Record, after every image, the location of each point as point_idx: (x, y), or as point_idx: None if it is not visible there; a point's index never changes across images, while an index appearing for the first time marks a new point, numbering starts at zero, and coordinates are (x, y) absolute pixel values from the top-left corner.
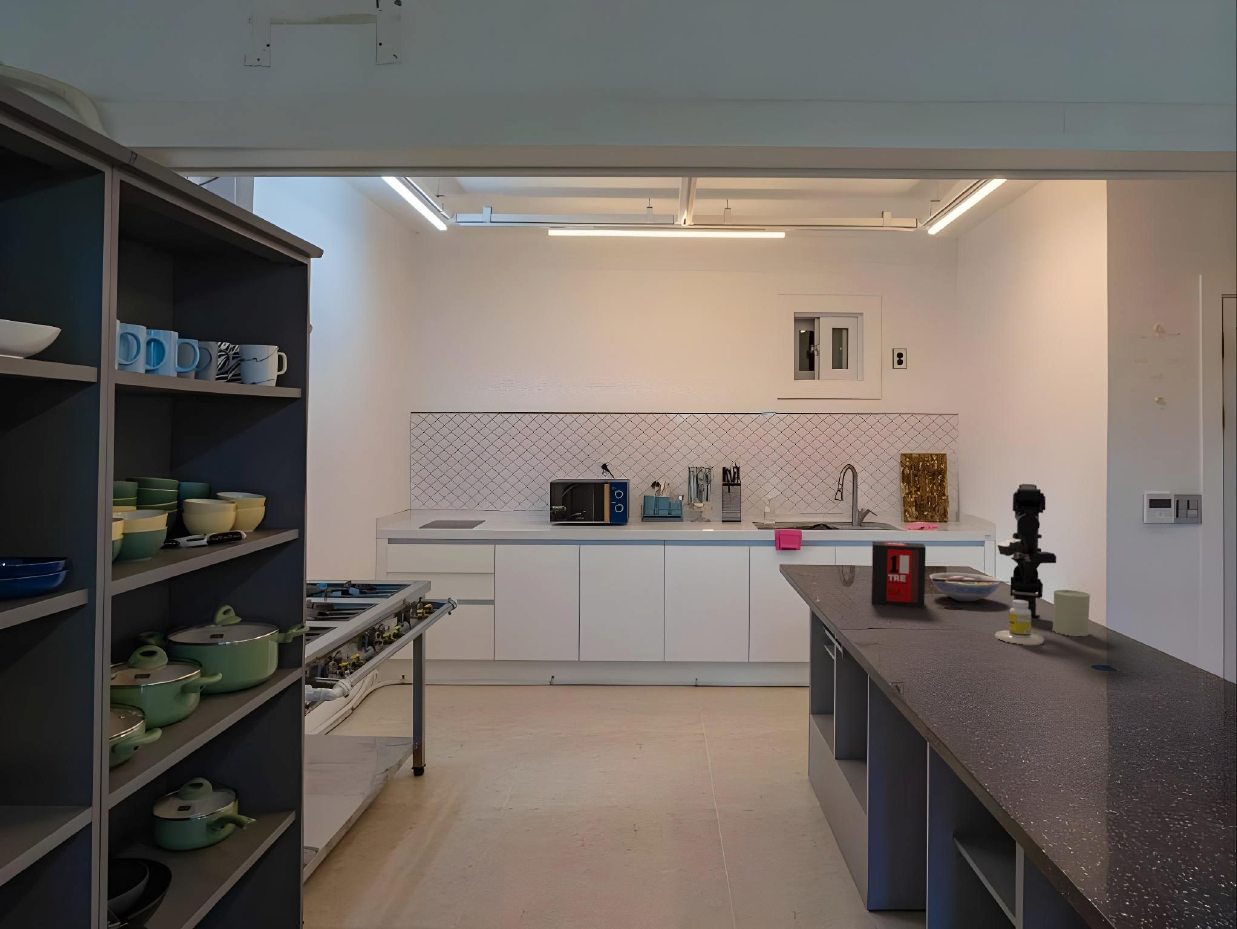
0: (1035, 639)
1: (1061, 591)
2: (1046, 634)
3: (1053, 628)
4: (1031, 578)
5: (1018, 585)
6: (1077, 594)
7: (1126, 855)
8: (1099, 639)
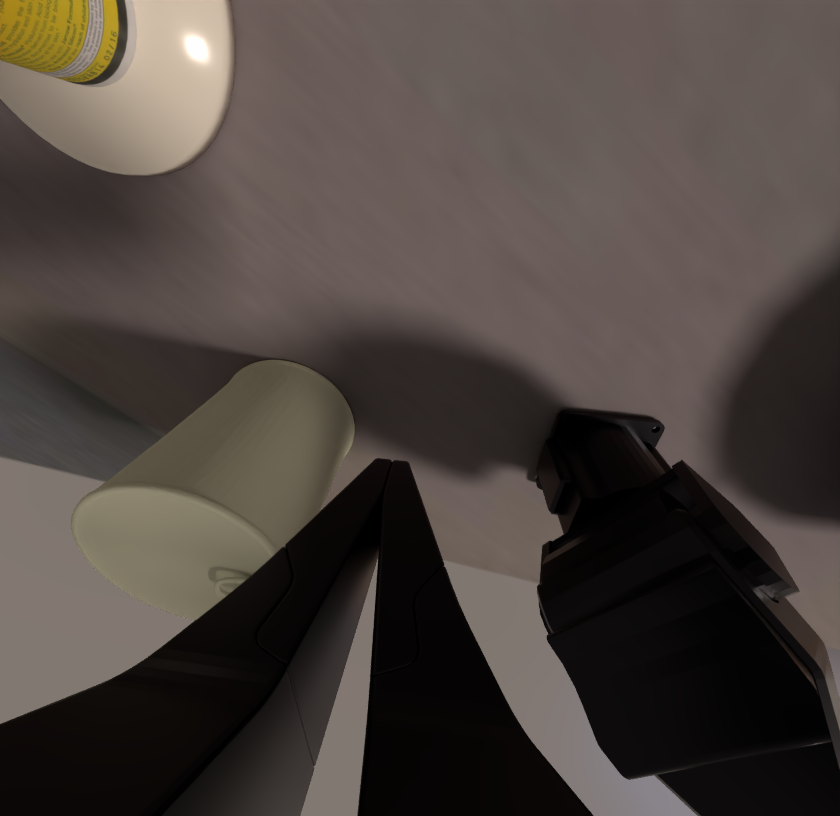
0: None
1: (246, 557)
2: (248, 294)
3: (301, 373)
4: (584, 630)
5: (641, 524)
6: (157, 570)
7: None
8: None
